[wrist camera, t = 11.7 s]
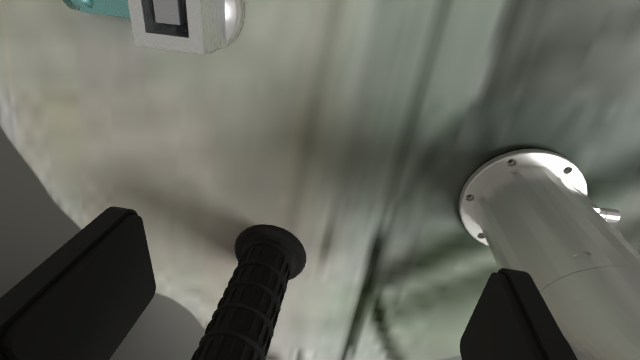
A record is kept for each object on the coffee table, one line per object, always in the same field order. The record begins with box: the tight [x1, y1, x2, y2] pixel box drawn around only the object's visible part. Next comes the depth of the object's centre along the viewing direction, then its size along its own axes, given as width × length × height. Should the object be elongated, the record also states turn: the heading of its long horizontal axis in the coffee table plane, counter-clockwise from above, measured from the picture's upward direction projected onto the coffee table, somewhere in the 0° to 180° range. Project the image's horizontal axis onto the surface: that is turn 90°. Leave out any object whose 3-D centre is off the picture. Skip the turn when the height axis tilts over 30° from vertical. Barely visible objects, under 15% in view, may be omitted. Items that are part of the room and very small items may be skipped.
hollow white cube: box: [128, 0, 226, 54], centre depth 29 cm, size 6×6×5 cm
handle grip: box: [191, 225, 306, 360], centre depth 36 cm, size 10×26×10 cm
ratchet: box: [63, 0, 245, 54], centre depth 30 cm, size 16×8×7 cm, turn 85°
